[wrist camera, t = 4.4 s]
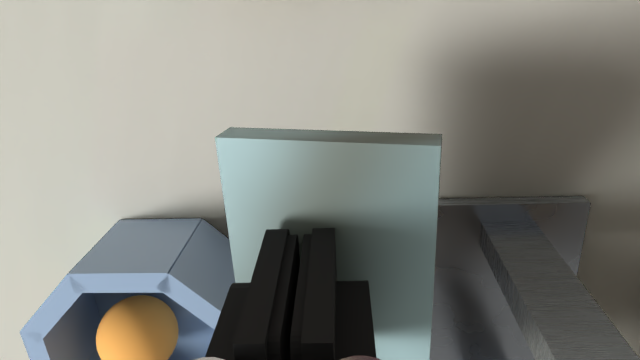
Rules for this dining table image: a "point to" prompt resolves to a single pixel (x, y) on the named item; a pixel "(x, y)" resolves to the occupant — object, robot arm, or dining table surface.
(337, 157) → the lever
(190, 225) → the cup
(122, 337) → the ball
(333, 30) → the dining table surface
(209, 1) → the dining table surface
